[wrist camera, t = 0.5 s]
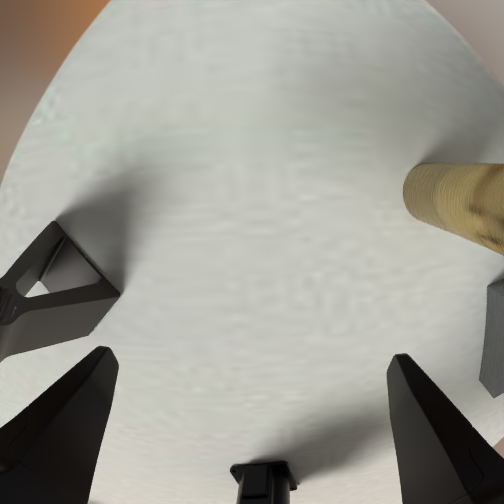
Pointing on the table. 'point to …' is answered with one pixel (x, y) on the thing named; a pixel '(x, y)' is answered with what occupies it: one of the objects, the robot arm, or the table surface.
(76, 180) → the table surface
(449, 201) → the brass sleeve
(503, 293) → the jig block
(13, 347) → the phone stand
